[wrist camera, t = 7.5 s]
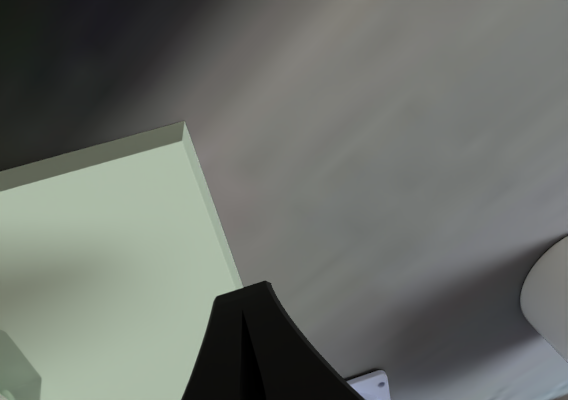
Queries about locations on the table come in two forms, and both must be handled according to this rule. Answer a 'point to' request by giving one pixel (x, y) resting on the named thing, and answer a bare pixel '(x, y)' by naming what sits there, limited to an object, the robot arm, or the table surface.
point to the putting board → (109, 270)
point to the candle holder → (549, 297)
